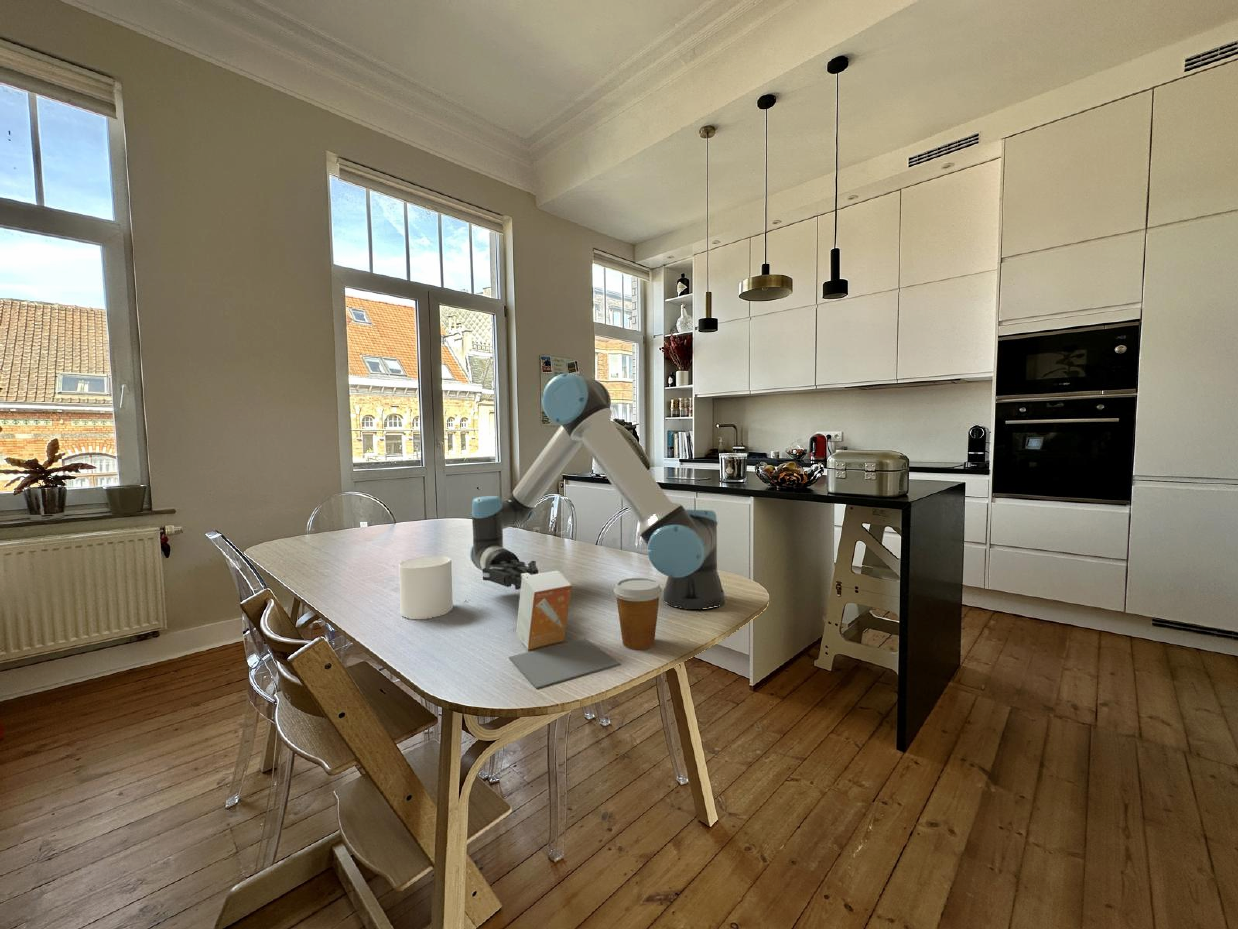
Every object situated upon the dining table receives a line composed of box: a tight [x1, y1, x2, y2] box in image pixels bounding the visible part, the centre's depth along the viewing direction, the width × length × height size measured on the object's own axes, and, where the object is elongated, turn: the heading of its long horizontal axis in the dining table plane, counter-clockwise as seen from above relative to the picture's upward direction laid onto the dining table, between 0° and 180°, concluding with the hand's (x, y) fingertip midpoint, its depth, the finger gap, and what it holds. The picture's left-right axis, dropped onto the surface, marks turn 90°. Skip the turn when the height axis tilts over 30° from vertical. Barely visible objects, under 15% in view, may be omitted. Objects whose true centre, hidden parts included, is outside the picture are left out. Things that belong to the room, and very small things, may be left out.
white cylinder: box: [398, 555, 454, 620], centre depth 118 cm, size 12×12×12 cm
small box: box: [515, 570, 572, 651], centre depth 97 cm, size 8×6×13 cm
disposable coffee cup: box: [613, 577, 663, 650], centre depth 97 cm, size 10×10×12 cm
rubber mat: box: [508, 637, 621, 690], centre depth 89 cm, size 16×14×1 cm
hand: (535, 586), depth 99 cm, fingers closed
